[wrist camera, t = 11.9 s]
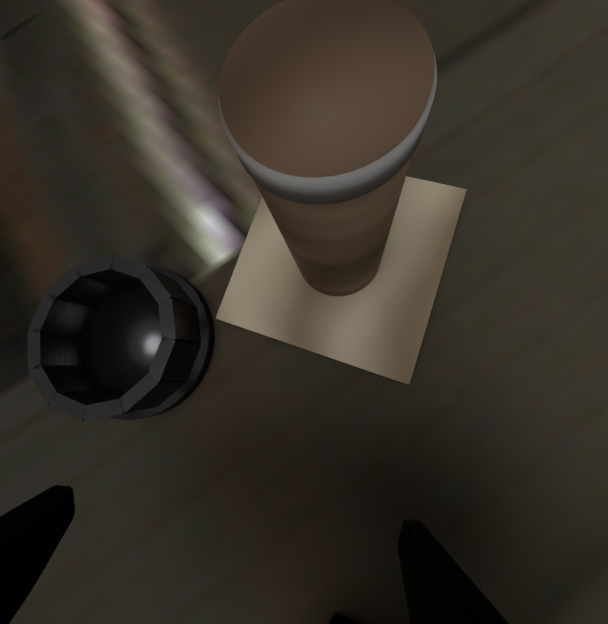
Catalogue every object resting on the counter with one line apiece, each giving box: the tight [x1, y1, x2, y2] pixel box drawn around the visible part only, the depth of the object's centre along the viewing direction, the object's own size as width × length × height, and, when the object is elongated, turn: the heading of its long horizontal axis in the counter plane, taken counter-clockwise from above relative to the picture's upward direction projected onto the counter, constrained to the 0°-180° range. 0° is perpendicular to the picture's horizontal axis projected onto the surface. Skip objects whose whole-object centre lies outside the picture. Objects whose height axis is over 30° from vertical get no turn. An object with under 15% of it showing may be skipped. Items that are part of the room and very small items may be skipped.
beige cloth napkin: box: [216, 176, 467, 385], centre depth 20 cm, size 12×12×2 cm
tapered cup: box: [219, 0, 437, 296], centre depth 13 cm, size 5×5×12 cm
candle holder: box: [28, 256, 214, 421], centre depth 19 cm, size 10×10×4 cm
